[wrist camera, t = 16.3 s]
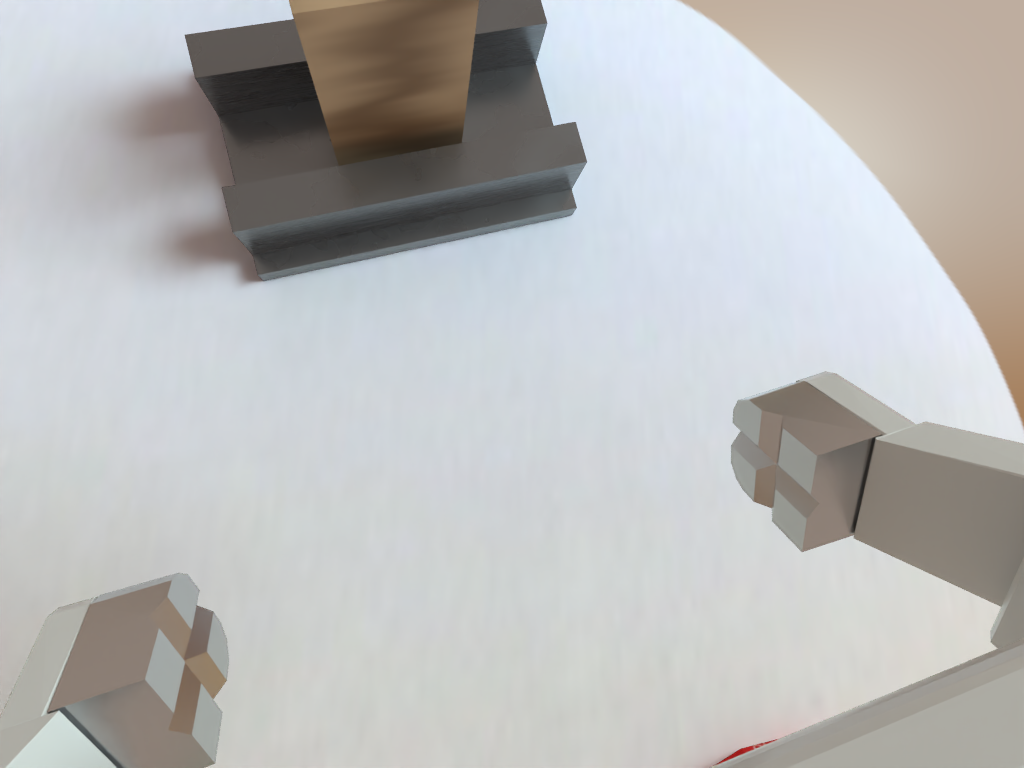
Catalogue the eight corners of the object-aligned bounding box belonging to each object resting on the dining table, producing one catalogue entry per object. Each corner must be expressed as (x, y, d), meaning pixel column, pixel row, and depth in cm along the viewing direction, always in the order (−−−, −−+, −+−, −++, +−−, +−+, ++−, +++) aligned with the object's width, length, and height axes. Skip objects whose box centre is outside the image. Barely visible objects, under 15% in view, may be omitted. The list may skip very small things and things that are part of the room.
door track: (263, 280, 29) (238, 254, 25) (211, 70, 30) (179, 13, 26) (572, 215, 32) (592, 182, 28) (517, 23, 32) (530, -35, 28)
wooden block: (341, 175, 29) (292, 13, 18) (326, 117, 29) (269, -76, 19) (460, 152, 30) (480, -14, 19) (445, 96, 30) (456, -98, 20)
